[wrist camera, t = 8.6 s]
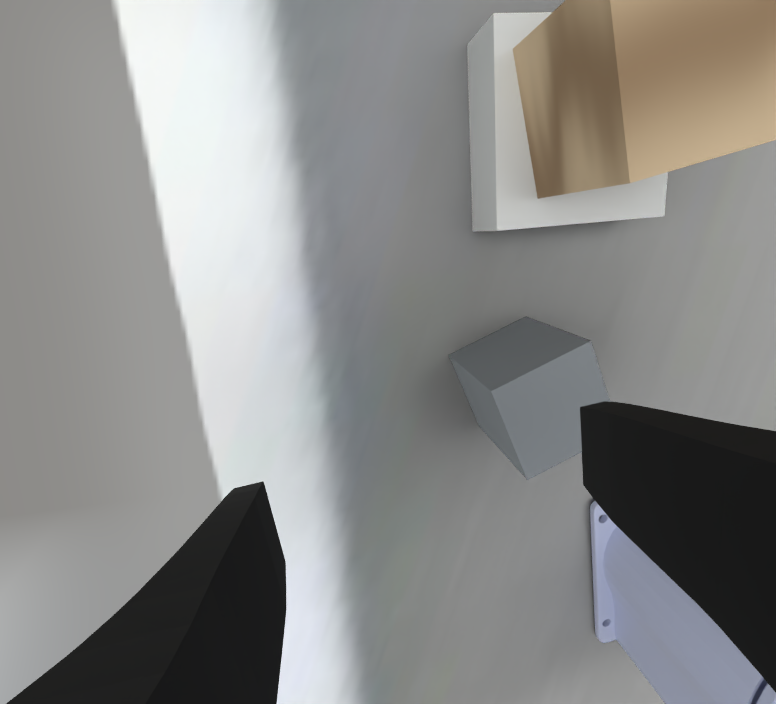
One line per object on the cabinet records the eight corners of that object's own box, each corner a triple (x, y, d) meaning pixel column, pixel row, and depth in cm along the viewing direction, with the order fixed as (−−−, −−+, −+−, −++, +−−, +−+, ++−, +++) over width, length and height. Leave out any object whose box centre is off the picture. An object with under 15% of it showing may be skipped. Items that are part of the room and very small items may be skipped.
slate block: (551, 388, 22) (620, 431, 17) (478, 425, 22) (527, 479, 17) (525, 316, 21) (591, 340, 16) (448, 354, 20) (490, 391, 16)
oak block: (657, 163, 17) (792, 134, 12) (537, 198, 17) (630, 183, 12) (644, 15, 16) (791, -82, 11) (512, 49, 15) (605, -37, 10)
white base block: (614, 219, 21) (664, 216, 18) (469, 231, 20) (496, 230, 17) (623, 45, 19) (680, 10, 16) (463, 49, 18) (493, 12, 15)
